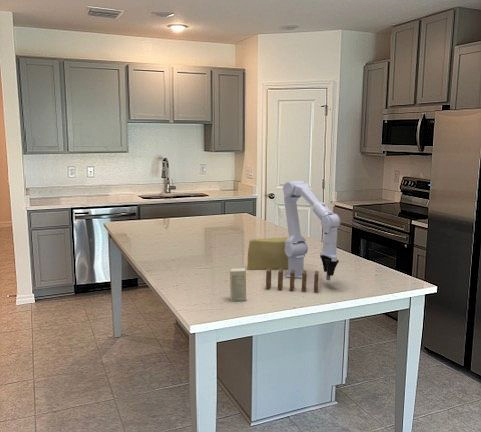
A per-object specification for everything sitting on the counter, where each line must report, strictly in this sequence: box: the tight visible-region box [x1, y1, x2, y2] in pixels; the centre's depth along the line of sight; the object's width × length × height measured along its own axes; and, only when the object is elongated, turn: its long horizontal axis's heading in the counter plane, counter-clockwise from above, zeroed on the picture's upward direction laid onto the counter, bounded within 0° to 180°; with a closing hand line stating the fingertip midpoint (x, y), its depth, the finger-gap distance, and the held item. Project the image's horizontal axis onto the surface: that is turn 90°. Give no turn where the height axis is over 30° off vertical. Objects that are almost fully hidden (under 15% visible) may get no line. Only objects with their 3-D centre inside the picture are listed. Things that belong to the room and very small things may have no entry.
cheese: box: [247, 236, 289, 271], centre depth 235 cm, size 22×10×15 cm, turn 104°
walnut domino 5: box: [313, 270, 320, 294], centre depth 202 cm, size 2×5×8 cm, turn 170°
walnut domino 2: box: [277, 269, 284, 292], centre depth 204 cm, size 2×5×8 cm, turn 169°
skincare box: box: [229, 267, 247, 302], centre depth 190 cm, size 6×4×12 cm
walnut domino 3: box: [289, 269, 296, 292], centre depth 204 cm, size 2×5×8 cm, turn 170°
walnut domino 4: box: [301, 269, 308, 293], centre depth 203 cm, size 2×5×8 cm, turn 169°
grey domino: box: [326, 272, 331, 281], centre depth 207 cm, size 2×5×8 cm, turn 170°
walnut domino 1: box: [265, 268, 272, 291], centre depth 205 cm, size 2×5×8 cm, turn 170°
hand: (328, 273), depth 207 cm, fingers closed on grey domino, 5 cm apart
